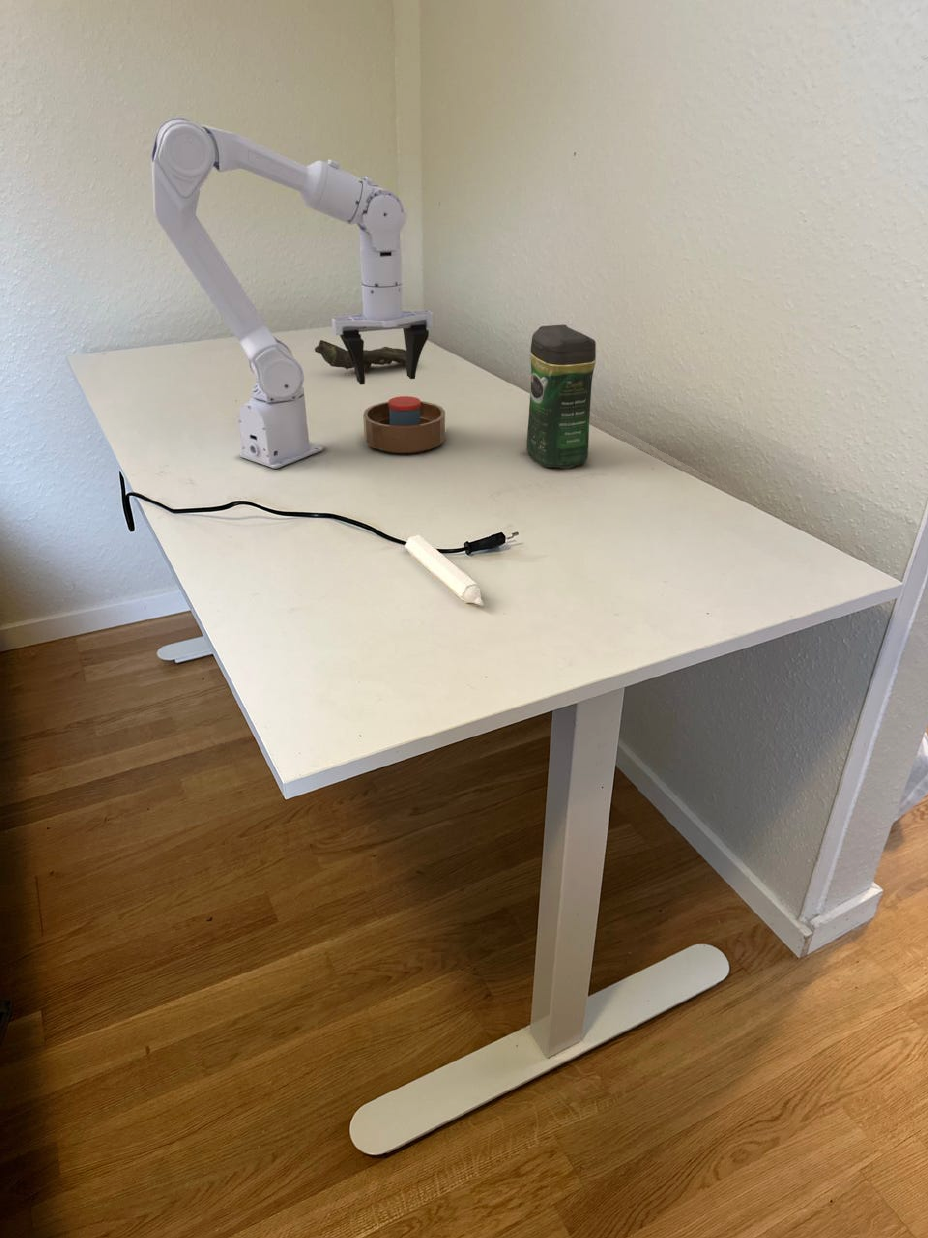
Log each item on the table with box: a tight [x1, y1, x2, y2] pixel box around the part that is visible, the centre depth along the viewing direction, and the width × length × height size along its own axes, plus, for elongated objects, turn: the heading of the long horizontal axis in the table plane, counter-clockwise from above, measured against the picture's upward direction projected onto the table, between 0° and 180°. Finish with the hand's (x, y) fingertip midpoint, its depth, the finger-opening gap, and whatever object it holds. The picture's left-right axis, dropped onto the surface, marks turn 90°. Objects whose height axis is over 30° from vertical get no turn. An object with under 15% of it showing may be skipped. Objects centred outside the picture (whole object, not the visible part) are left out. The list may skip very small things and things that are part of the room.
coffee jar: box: [525, 324, 597, 469], centre depth 120 cm, size 10×8×19 cm
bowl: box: [362, 400, 446, 454], centre depth 130 cm, size 12×12×4 cm
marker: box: [404, 534, 485, 608], centre depth 94 cm, size 3×2×16 cm
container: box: [387, 395, 422, 426], centre depth 129 cm, size 5×5×6 cm
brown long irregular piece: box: [314, 339, 406, 373], centre depth 161 cm, size 6×6×20 cm
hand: (386, 379), depth 127 cm, fingers open, 7 cm apart
